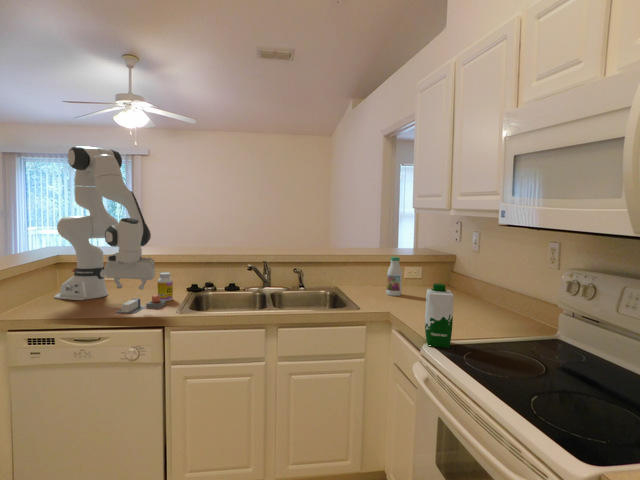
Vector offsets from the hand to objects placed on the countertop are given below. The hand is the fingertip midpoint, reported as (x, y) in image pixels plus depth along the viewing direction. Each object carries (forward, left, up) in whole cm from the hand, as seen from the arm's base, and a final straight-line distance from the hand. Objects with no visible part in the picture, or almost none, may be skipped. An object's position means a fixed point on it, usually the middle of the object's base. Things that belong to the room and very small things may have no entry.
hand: (130, 288), depth 167 cm
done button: (+9, +5, -7) cm, 12 cm away
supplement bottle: (+8, +17, -9) cm, 21 cm away
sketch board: (+1, -1, -9) cm, 9 cm away
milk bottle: (+120, +41, -9) cm, 127 cm away
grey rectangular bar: (+1, -1, -9) cm, 9 cm away
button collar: (+9, +5, -9) cm, 14 cm away
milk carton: (+122, -32, -9) cm, 127 cm away
